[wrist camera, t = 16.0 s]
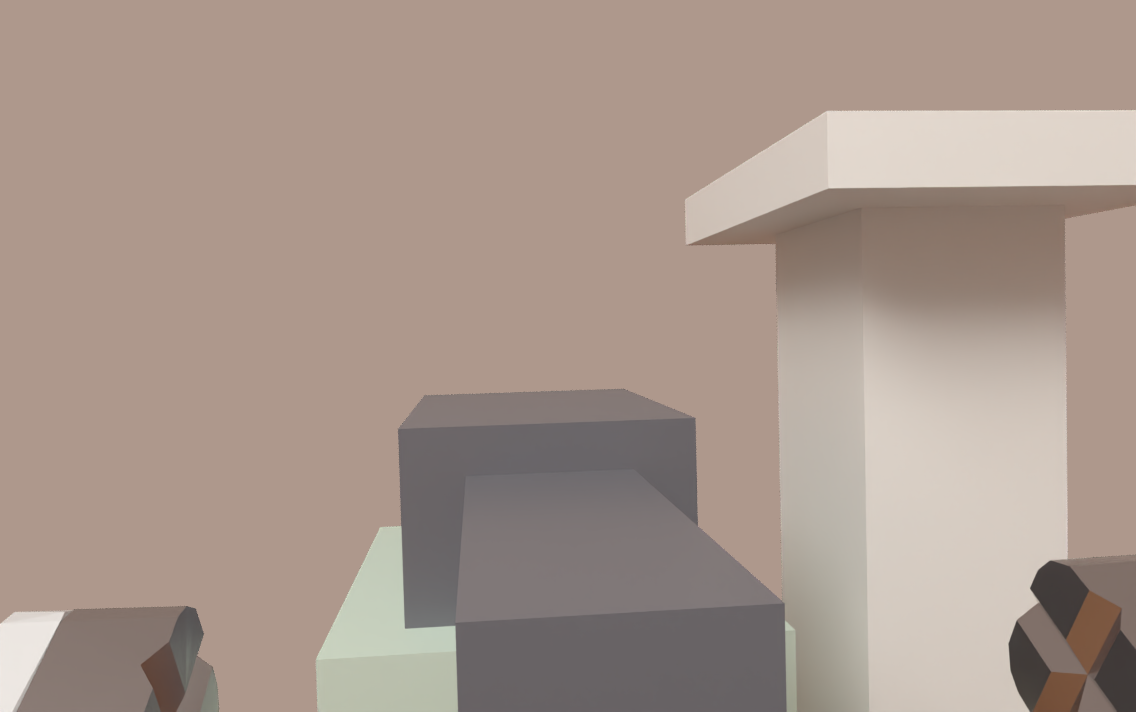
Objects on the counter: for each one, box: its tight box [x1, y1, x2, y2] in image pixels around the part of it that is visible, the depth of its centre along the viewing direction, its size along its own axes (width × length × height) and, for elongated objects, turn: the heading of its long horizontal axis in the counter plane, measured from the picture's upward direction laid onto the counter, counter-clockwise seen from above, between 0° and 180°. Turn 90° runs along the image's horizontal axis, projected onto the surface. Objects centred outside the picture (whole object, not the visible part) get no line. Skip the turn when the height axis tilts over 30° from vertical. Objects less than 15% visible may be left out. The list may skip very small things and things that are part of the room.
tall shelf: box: [685, 110, 1136, 712], centre depth 24 cm, size 9×12×26 cm
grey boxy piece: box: [398, 389, 787, 712], centre depth 19 cm, size 20×6×4 cm, turn 6°
